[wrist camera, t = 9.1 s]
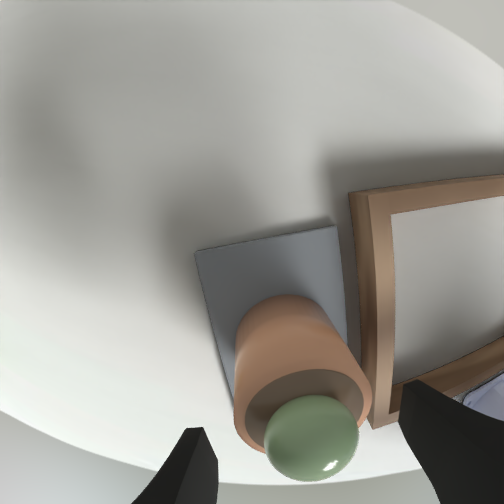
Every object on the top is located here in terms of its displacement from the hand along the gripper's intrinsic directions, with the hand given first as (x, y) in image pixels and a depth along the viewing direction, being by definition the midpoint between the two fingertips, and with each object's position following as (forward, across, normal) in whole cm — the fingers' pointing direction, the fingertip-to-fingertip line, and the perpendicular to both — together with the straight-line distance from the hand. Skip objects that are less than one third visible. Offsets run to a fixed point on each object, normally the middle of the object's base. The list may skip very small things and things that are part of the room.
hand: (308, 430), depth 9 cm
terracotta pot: (+7, 0, 0) cm, 7 cm away
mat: (+7, 0, 0) cm, 7 cm away
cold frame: (+7, -12, 0) cm, 14 cm away
